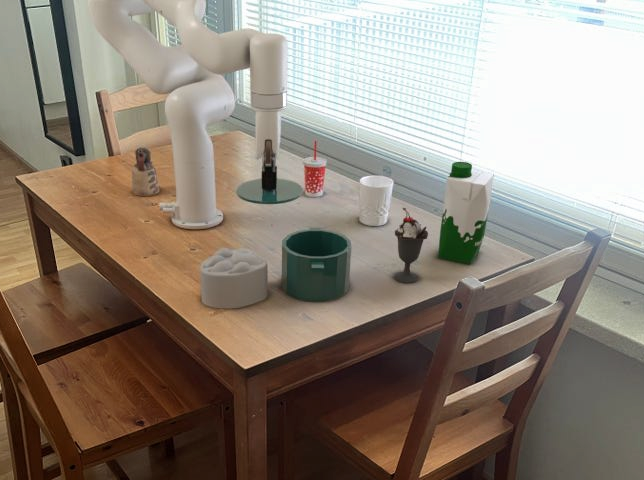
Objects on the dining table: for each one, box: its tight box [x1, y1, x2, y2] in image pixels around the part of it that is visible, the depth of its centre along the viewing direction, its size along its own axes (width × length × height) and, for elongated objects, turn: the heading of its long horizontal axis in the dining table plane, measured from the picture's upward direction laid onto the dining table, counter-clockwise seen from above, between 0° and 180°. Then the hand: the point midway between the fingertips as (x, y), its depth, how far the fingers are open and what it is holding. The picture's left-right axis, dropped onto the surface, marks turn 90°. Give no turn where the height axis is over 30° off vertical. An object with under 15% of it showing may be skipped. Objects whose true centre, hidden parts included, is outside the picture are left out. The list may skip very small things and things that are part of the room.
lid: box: [235, 178, 304, 205], centre depth 157 cm, size 15×15×6 cm
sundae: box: [393, 207, 429, 284], centre depth 146 cm, size 7×7×15 cm
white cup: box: [358, 175, 394, 227], centre depth 172 cm, size 8×8×10 cm
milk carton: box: [437, 161, 495, 265], centre depth 153 cm, size 9×9×20 cm
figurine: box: [131, 146, 160, 197], centre depth 190 cm, size 7×7×12 cm
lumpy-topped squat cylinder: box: [199, 247, 269, 310], centre depth 142 cm, size 10×13×9 cm
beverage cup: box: [302, 140, 328, 198], centre depth 187 cm, size 6×6×14 cm
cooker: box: [281, 226, 352, 303], centre depth 145 cm, size 14×19×10 cm
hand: (269, 185), depth 158 cm, fingers closed on lid, 2 cm apart
